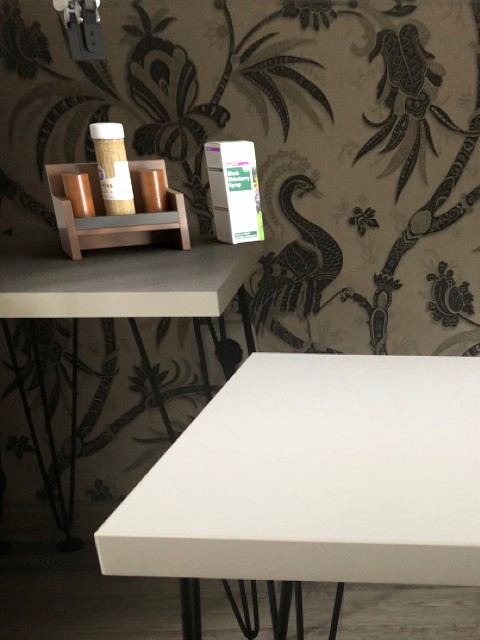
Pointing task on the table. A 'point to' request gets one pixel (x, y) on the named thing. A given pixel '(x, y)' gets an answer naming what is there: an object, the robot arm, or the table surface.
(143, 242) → the spice rack
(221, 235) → the syrup box
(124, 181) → the sprinkles bottle
